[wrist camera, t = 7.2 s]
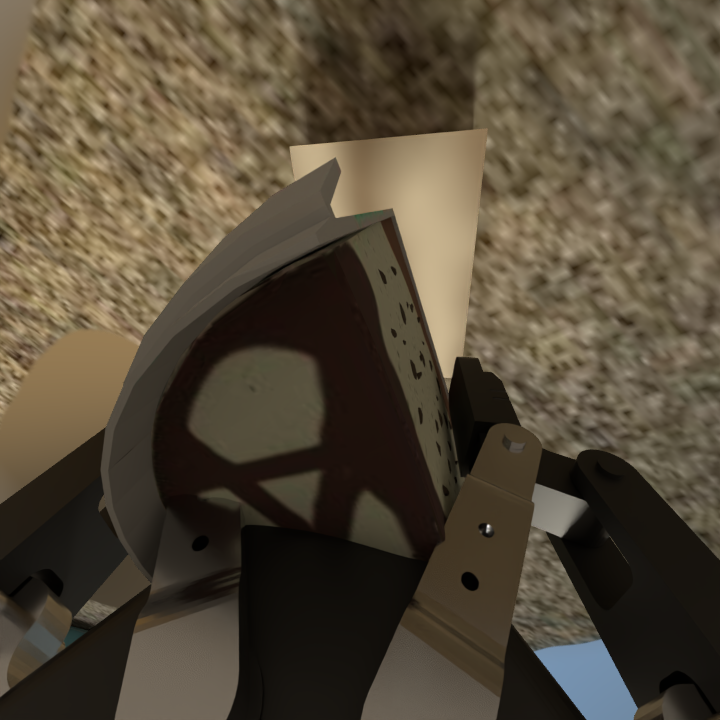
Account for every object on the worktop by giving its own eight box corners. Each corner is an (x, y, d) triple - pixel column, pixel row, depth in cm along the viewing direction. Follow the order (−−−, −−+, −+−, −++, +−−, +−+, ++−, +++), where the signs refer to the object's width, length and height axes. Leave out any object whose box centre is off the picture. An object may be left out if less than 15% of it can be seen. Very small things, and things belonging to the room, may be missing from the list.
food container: (226, 229, 12) (-167, 376, 4) (378, 160, 11) (280, 151, 2) (347, 452, 18) (297, 713, 9) (460, 430, 16) (523, 726, 8)
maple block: (472, 135, 21) (487, 128, 17) (452, 347, 30) (460, 377, 25) (311, 149, 23) (289, 146, 19) (335, 347, 31) (323, 375, 27)
